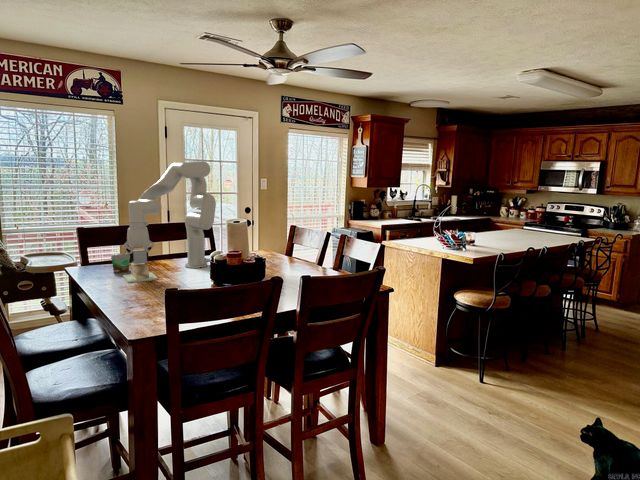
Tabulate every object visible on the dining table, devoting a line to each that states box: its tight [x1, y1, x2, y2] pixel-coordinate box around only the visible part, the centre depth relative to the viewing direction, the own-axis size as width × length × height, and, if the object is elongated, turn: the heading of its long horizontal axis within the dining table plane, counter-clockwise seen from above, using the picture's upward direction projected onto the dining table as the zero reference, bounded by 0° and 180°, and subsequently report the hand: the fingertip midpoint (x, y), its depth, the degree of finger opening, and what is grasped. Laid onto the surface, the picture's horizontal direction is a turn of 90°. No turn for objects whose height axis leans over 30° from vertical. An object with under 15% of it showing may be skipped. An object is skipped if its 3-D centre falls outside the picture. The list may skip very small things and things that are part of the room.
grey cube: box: [132, 248, 148, 264], centre depth 224 cm, size 6×6×6 cm
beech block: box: [130, 262, 150, 279], centre depth 226 cm, size 6×12×6 cm, turn 34°
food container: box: [110, 250, 130, 274], centre depth 240 cm, size 12×6×10 cm, turn 168°
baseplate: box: [122, 271, 158, 284], centre depth 226 cm, size 14×14×1 cm
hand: (139, 260), depth 225 cm, fingers closed on grey cube, 5 cm apart
